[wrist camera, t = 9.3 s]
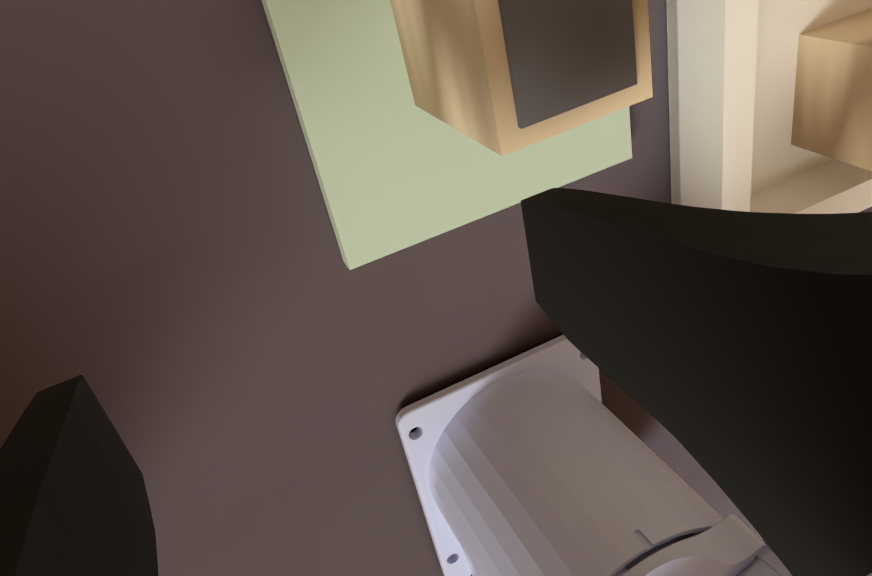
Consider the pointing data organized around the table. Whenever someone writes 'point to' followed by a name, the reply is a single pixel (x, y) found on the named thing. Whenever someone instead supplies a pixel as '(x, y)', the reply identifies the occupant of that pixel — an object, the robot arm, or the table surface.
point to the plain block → (835, 90)
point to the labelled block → (524, 64)
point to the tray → (749, 109)
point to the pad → (406, 135)
